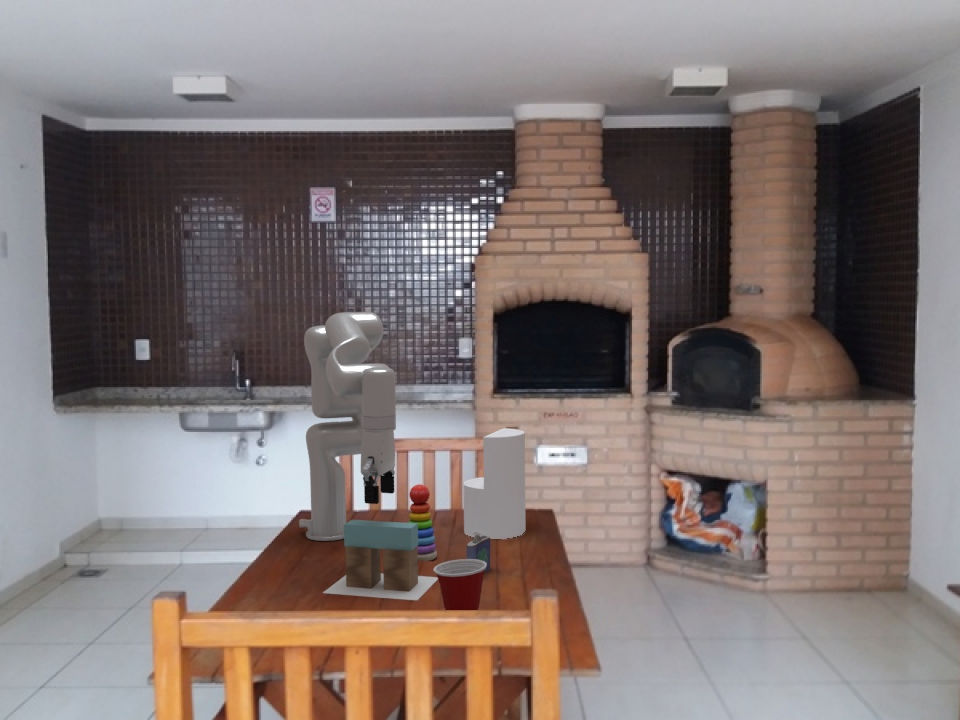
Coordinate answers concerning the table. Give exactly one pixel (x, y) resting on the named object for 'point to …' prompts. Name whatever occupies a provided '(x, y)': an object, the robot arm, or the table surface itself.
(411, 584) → the pillar right
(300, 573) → the table surface
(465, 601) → the plastic cup
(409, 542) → the beam
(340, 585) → the board
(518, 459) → the cylinder
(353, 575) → the pillar left
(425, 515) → the stacking toy
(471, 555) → the flask
